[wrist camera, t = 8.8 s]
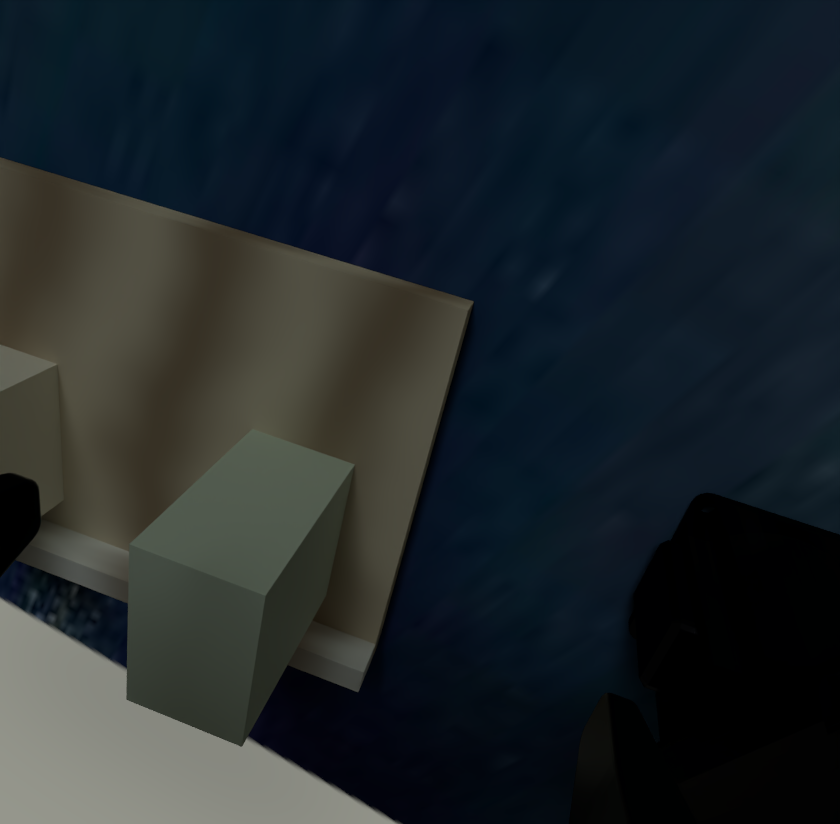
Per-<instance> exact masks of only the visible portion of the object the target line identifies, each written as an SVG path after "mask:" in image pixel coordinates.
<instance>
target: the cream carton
mask: <svg viewBox="0 0 840 824" xmlns="http://www.w3.org/2000/svg"><path fill="white" fill-rule="evenodd" d="M5 473H16V474H19V475H21V476H24V477H27V478H30V479H32V480H34V481H36V483H37V484H38V486H39V492H40V507H41V516H43V515H44V514H45V513H47V512H48V511H49V510H51V509H52V508H53V507H55V506H56V505H57V504H59V503H60V502H61V501H63V500H64V491H63V470H62V449H61V428H60V407H59V387H58V366H57V364H55V363H53V362H50V361H47V360H44V359H41V358H38V357H35V356H32V355H29V354H26V353H23V352H21V351H18V350H15V349H12V348H9V347H6V346H3V345H0V475H1V474H5Z"/></svg>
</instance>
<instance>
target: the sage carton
mask: <svg viewBox="0 0 840 824" xmlns="http://www.w3.org/2000/svg"><path fill="white" fill-rule="evenodd" d="M354 466H355V464H352V463H349V462H346V461H343V460H340V459H338V458H335V457H332V456H329V455H326V454H323V453H320V452H317V451H314V450H312V449H309V448H306V447H303V446H300V445H297V444H294V443H291V442H288V441H286V440H283V439H280V438H277V437H274V436H271V435H268V434H265V433H262V432H260V431H257V430H254V429H252V430H251V431H250V432H249V433H248V434H246V435H245V436H244V437H243V438H242V439H241V440H240V441H239V442H238V443H237V444H236V445H235V446H234V447H233V448H231V449H230V450H229V451H228V452H227V453H226V454H225V455H224V456H223V457H222V458H221V459H220V460H219V461H218V462H217V463H215V464H214V465H213V466H212V467H211V468H210V469H209V470H208V471H207V472H206V473H205V474H204V475H203V476H202V477H201V478H199V479H198V480H197V481H196V482H195V483H194V484H193V485H192V486H191V487H190V488H189V489H188V490H187V491H186V492H184V493H183V494H182V495H181V496H180V497H179V498H178V499H177V500H176V501H175V502H174V503H173V504H172V505H171V506H170V507H168V508H167V509H166V510H165V511H164V512H163V513H162V514H161V515H160V516H159V517H158V518H157V519H156V520H155V521H153V522H152V523H151V524H150V525H149V526H148V527H147V528H146V529H145V530H144V531H143V532H142V533H141V534H140V535H139V536H137V537H136V538H135V539H134V540H133V541H132V542H131V543H130V544H129V584H128V643H127V700H129V701H131V702H134V703H136V704H139V705H141V706H143V707H146V708H148V709H151V710H153V711H156V712H158V713H161V714H163V715H165V716H168V717H171V718H173V719H175V720H178V721H180V722H183V723H185V724H188V725H190V726H192V727H195V728H197V729H200V730H202V731H205V732H207V733H210V734H212V735H214V736H217V737H219V738H222V739H224V740H227V741H229V742H232V743H234V744H237V745H239V746H242V745H243V744H244V742H245V740H246V738H247V737H248V735H249V733H250V731H251V729H252V728H253V726H254V724H255V722H256V720H257V719H258V717H259V715H260V713H261V711H262V710H263V708H264V706H265V704H266V702H267V701H268V699H269V697H270V695H271V693H272V692H273V690H274V688H275V686H276V685H277V683H278V681H279V679H280V677H281V676H282V674H283V672H284V670H285V668H286V667H287V665H288V663H289V661H290V659H291V658H292V656H293V654H294V652H295V650H296V649H297V647H298V645H299V643H300V642H301V640H302V638H303V636H304V634H305V633H306V631H307V629H308V627H309V625H310V624H311V622H312V620H313V618H314V616H315V615H316V613H317V611H318V609H319V607H320V606H321V604H322V602H323V600H324V598H325V597H326V594H327V589H328V585H329V580H330V576H331V571H332V567H333V562H334V557H335V553H336V548H337V544H338V539H339V535H340V530H341V525H342V521H343V516H344V512H345V507H346V503H347V498H348V493H349V489H350V484H351V480H352V475H353V471H354Z"/></svg>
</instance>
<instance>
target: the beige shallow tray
mask: <svg viewBox="0 0 840 824" xmlns="http://www.w3.org/2000/svg"><path fill="white" fill-rule="evenodd" d="M473 303H474V302H473V301H470V300H467V299H463V298H460V297H457V296H454V295H450V294H447V293H444V292H440V291H437V290H434V289H431V288H427V287H424V286H421V285H417V284H414V283H411V282H408V281H404V280H401V279H398V278H394V277H391V276H388V275H385V274H381V273H378V272H375V271H371V270H368V269H365V268H362V267H358V266H355V265H352V264H348V263H345V262H342V261H339V260H335V259H332V258H329V257H325V256H322V255H319V254H316V253H312V252H309V251H306V250H302V249H299V248H296V247H293V246H289V245H286V244H283V243H279V242H276V241H273V240H270V239H266V238H263V237H260V236H256V235H253V234H250V233H247V232H243V231H240V230H237V229H233V228H230V227H227V226H224V225H220V224H217V223H214V222H210V221H207V220H204V219H201V218H197V217H194V216H191V215H187V214H184V213H181V212H178V211H174V210H171V209H168V208H164V207H161V206H158V205H155V204H151V203H148V202H145V201H141V200H138V199H135V198H132V197H128V196H125V195H122V194H118V193H115V192H112V191H109V190H105V189H102V188H99V187H95V186H92V185H89V184H86V183H82V182H79V181H76V180H72V179H69V178H66V177H63V176H59V175H56V174H53V173H49V172H46V171H43V170H40V169H36V168H33V167H30V166H26V165H23V164H20V163H17V162H13V161H10V160H7V159H3V158H0V345H3V346H6V347H9V348H12V349H15V350H18V351H21V352H23V353H26V354H29V355H32V356H35V357H38V358H41V359H44V360H47V361H50V362H53V363H55V364H57V366H58V387H59V407H60V428H61V449H62V470H63V491H64V500H63V501H61V502H60V503H59V504H57V505H56V506H55V507H53V508H52V509H51V510H49V511H48V512H47V513H45V514H44V515H43V516H41V526H40V529H39V531H38V533H37V534H36V536H35V537H34V539H33V540H32V541H31V542H30V543H29V544H28V546H27V547H26V548H25V549H24V550H23V551H22V553H21V554H20V555H19V556H18V557H17V558H16V560H17V561H20V562H22V563H25V564H28V565H30V566H33V567H35V568H38V569H40V570H43V571H46V572H48V573H51V574H53V575H56V576H59V577H61V578H64V579H66V580H69V581H72V582H74V583H77V584H79V585H82V586H84V587H87V588H90V589H92V590H95V591H97V592H100V593H103V594H105V595H108V596H110V597H113V598H115V599H118V600H121V601H123V602H126V603H128V584H129V544H130V543H131V542H132V541H133V540H134V539H135V538H136V537H137V536H139V535H140V534H141V533H142V532H143V531H144V530H145V529H146V528H147V527H148V526H149V525H150V524H151V523H152V522H153V521H155V520H156V519H157V518H158V517H159V516H160V515H161V514H162V513H163V512H164V511H165V510H166V509H167V508H168V507H170V506H171V505H172V504H173V503H174V502H175V501H176V500H177V499H178V498H179V497H180V496H181V495H182V494H183V493H184V492H186V491H187V490H188V489H189V488H190V487H191V486H192V485H193V484H194V483H195V482H196V481H197V480H198V479H199V478H201V477H202V476H203V475H204V474H205V473H206V472H207V471H208V470H209V469H210V468H211V467H212V466H213V465H214V464H215V463H217V462H218V461H219V460H220V459H221V458H222V457H223V456H224V455H225V454H226V453H227V452H228V451H229V450H230V449H231V448H233V447H234V446H235V445H236V444H237V443H238V442H239V441H240V440H241V439H242V438H243V437H244V436H245V435H246V434H248V433H249V432H250V431H251V430H252V429H254V430H257V431H260V432H262V433H265V434H268V435H271V436H274V437H277V438H280V439H283V440H286V441H288V442H291V443H294V444H297V445H300V446H303V447H306V448H309V449H312V450H314V451H317V452H320V453H323V454H326V455H329V456H332V457H335V458H338V459H340V460H343V461H346V462H349V463H352V464H355V466H354V471H353V475H352V480H351V484H350V489H349V493H348V498H347V503H346V507H345V512H344V516H343V521H342V525H341V530H340V535H339V539H338V544H337V548H336V553H335V557H334V562H333V567H332V571H331V576H330V580H329V585H328V589H327V594H326V597H325V598H324V600H323V602H322V604H321V606H320V607H319V609H318V611H317V613H316V615H315V616H314V618H313V620H312V622H311V624H310V625H309V627H308V629H307V631H306V633H305V634H304V636H303V638H302V640H301V642H300V643H299V645H298V647H297V649H296V650H295V652H294V654H293V656H292V658H291V659H290V661H289V663H288V665H289V666H291V667H294V668H297V669H299V670H302V671H304V672H307V673H309V674H312V675H315V676H317V677H320V678H322V679H325V680H328V681H330V682H333V683H335V684H338V685H340V686H343V687H346V688H348V689H351V690H353V691H356V692H359V689H360V687H361V685H362V682H363V680H364V677H365V675H366V672H367V670H368V668H369V665H370V663H371V660H372V658H373V655H374V653H375V651H376V648H377V645H378V642H379V638H380V635H381V631H382V628H383V624H384V620H385V617H386V613H387V610H388V606H389V603H390V599H391V595H392V592H393V588H394V585H395V581H396V578H397V574H398V570H399V567H400V563H401V560H402V556H403V553H404V549H405V545H406V542H407V538H408V535H409V531H410V528H411V524H412V520H413V517H414V513H415V510H416V506H417V503H418V499H419V495H420V492H421V488H422V485H423V481H424V478H425V474H426V470H427V467H428V463H429V460H430V456H431V453H432V449H433V445H434V442H435V438H436V435H437V431H438V428H439V424H440V420H441V417H442V413H443V410H444V406H445V403H446V399H447V395H448V392H449V388H450V385H451V381H452V378H453V374H454V370H455V367H456V363H457V360H458V356H459V353H460V349H461V345H462V342H463V338H464V335H465V331H466V328H467V324H468V320H469V317H470V313H471V310H472V306H473Z"/></svg>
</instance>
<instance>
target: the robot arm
mask: <svg viewBox="0 0 840 824" xmlns="http://www.w3.org/2000/svg"><path fill="white" fill-rule="evenodd" d="M706 506H713V507H715V509H714V510H713V511H712V512H709V513H708V512H703V511H701V510H702V509H703V508H704V507H706ZM40 526H41V507H40V492H39V486H38V484H37V483H36V481H34V480H32V479H30V478H27V477H24V476H21V475H19V474H16V473H5V474H1V475H0V577H1V576H2V575H3V574H4V572H5V571H6V570H7V569H8V568H9V567H10V565H11V564H12V563H13V562H14V561H15V560H16V558H17V557H18V556H19V555H20V554H21V553H22V551H23V550H24V549H25V548H26V547H27V546H28V544H29V543H30V542H31V541H32V540H33V539H34V537H35V536H36V534H37V533H38V531H39V529H40ZM634 608H635V609H634V611H633V613H632V615H631V617H630V619H629V631H630V634H631V635H632V637H633V638H635V639H637V653H638V668H639V678H640V680H641V682H642V684H643V686H644V687H646V688H649V689H651V690H654V691H655V693H656V703H657V714H658V725H659V736H660V742H658V743H656V742H655V740H654V738H653V736H652V734H651V732H650V730H649V728H648V726H647V724H646V722H645V720H644V718H643V716H642V714H641V712H640V710H639V708H638V707H637V705H636V704H635V703H634V702H633V701H631V700H629V699H626V698H623V697H620V696H618V695H615V694H612V693H605V694H604V695H603V696H602V697H601V698H600V700H599V702H598V704H597V706H596V707H595V709H594V711H593V713H592V715H591V717H590V718H589V720H588V722H587V724H586V726H585V728H584V730H583V733H582V736H581V741H580V746H579V753H578V761H577V768H576V775H575V783H574V790H573V797H572V804H571V812H570V819H569V824H840V535H839V534H836V533H833V532H830V531H827V530H823V529H820V528H817V527H814V526H811V525H808V524H805V523H802V522H799V521H796V520H793V519H790V518H787V517H784V516H781V515H777V514H774V513H771V512H768V511H765V510H762V509H759V508H756V507H753V506H750V505H747V504H744V503H741V502H738V501H734V500H731V499H728V498H725V497H722V496H719V495H716V494H712V493H704V494H700V495H698V496H696V497H695V498H694V500H693V501H692V503H691V504H690V506H689V508H688V510H687V512H686V514H685V516H684V517H683V519H682V521H681V523H680V525H679V527H678V529H677V531H676V532H675V534H674V536H673V538H672V540H671V541H670V540H668V541H666V542H664V543H662V544H660V545H659V547H658V549H657V551H656V553H655V555H654V557H653V559H652V561H651V563H650V564H649V566H648V568H647V570H646V572H645V574H644V576H643V578H642V580H641V582H640V583H639V585H638V587H637V589H636V591H635V593H634Z"/></svg>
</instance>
